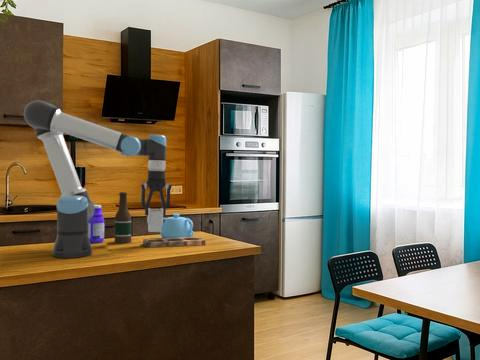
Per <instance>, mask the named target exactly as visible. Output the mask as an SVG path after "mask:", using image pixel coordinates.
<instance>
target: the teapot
mask: <svg viewBox="0 0 480 360" xmlns="http://www.w3.org/2000/svg"><path fill="white" fill-rule="evenodd" d="M172 215H173V216H171V217H163V223H162V231H161V232H158V233H159V234H160V236H161V239H166V238H184V237H194V235H195V231H193V227H194V223H193V221H192V220H191V219H190V218H189V217H182V216H180V213H173V214H172Z"/></svg>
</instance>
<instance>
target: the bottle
mask: <svg viewBox="0 0 480 360" xmlns="http://www.w3.org/2000/svg"><path fill="white" fill-rule="evenodd" d="M94 207H95V212H94V215H93V217H92V218H91V220H90V221H88V238H89V241H90V244H91V243H92V244H98V243H103V242H104V240H105V219H104V217H103V215H104V213H103V211H102V205H100V204H94Z"/></svg>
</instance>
